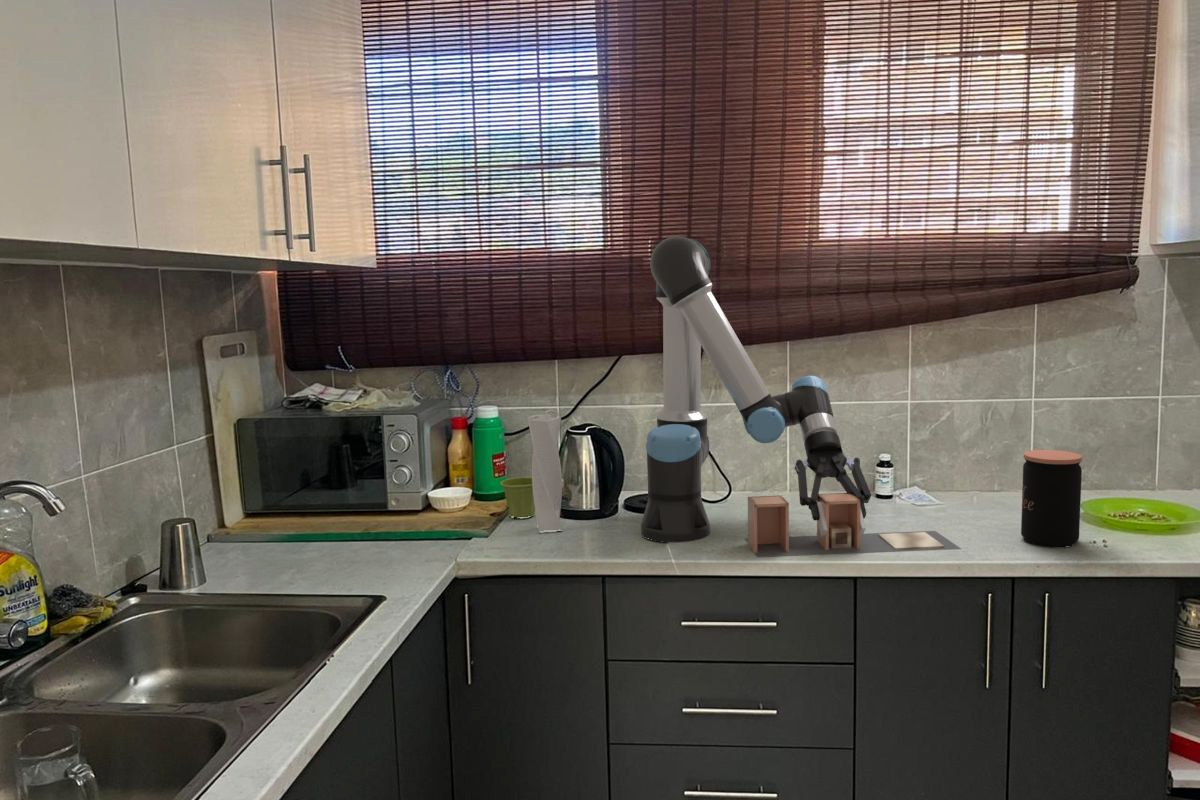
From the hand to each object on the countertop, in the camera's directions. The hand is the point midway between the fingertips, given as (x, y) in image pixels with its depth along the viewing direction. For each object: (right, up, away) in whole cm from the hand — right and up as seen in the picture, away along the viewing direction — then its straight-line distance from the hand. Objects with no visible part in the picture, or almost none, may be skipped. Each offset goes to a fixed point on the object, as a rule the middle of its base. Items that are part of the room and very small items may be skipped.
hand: (843, 532), depth 179 cm
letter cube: (0, -3, +4) cm, 5 cm away
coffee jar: (+43, -2, +3) cm, 43 cm away
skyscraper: (-61, -3, +23) cm, 65 cm away
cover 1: (-15, -4, +4) cm, 15 cm away
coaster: (+15, -3, +4) cm, 16 cm away
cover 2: (0, -3, +4) cm, 5 cm away
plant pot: (-68, -2, +36) cm, 77 cm away
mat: (+2, -3, +5) cm, 6 cm away
